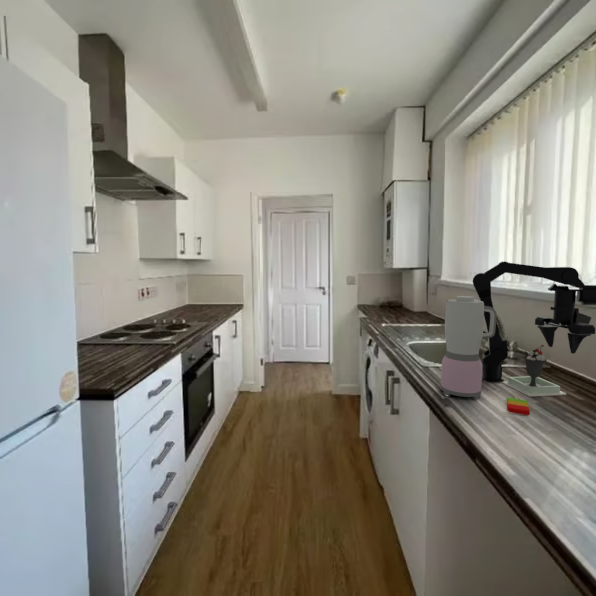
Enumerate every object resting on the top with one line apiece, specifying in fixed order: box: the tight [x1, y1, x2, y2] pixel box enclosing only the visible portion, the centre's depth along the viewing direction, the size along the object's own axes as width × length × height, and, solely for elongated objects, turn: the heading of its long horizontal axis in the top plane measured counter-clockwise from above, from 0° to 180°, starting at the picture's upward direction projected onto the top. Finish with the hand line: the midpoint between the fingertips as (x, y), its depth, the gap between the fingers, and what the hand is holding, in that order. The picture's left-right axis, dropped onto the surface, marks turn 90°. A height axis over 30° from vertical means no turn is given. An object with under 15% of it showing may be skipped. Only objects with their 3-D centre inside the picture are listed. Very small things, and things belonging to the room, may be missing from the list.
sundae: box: [522, 344, 548, 387], centre depth 122 cm, size 7×7×15 cm
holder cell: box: [501, 375, 567, 397], centre depth 123 cm, size 13×13×2 cm
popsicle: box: [506, 394, 531, 416], centre depth 109 cm, size 6×15×2 cm, turn 151°
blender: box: [439, 295, 497, 401], centre depth 116 cm, size 16×12×32 cm
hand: (561, 350), depth 123 cm, fingers open, 9 cm apart
